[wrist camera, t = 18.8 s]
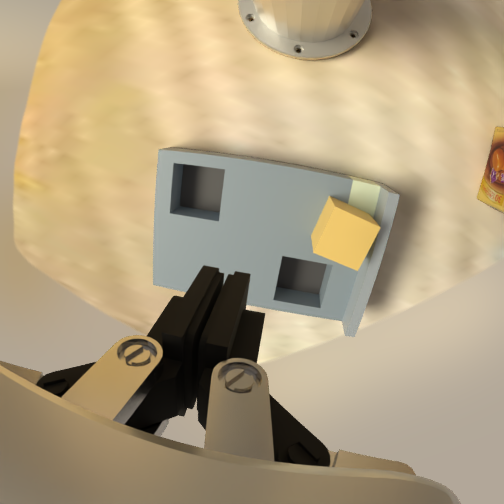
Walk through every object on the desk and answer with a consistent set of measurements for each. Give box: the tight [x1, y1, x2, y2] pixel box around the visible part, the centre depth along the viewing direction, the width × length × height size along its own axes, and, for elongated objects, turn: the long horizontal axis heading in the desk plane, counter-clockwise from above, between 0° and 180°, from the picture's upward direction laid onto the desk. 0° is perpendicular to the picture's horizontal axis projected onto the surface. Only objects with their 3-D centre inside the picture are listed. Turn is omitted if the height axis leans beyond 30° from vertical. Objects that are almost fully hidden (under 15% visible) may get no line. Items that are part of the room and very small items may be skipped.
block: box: [311, 196, 381, 271], centre depth 25 cm, size 4×4×4 cm
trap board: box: [153, 147, 400, 337], centre depth 29 cm, size 14×21×6 cm, turn 82°
